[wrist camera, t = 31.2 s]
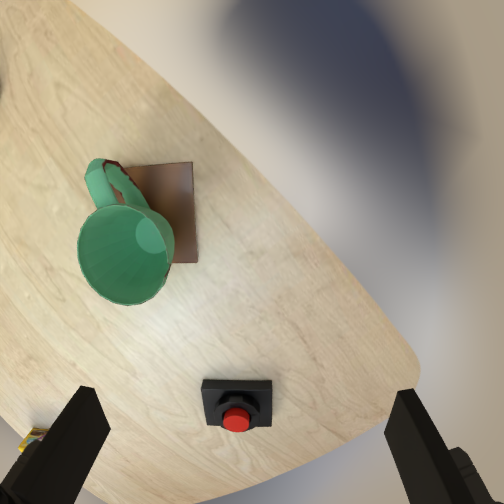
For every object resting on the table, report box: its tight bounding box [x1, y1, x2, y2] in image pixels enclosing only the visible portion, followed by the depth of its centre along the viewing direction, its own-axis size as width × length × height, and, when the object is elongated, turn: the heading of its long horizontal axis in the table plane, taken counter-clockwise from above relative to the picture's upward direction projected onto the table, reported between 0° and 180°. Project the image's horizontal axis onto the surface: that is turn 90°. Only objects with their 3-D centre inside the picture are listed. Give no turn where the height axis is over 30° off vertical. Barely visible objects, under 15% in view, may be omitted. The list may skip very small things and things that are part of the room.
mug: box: [77, 158, 175, 306], centre depth 31 cm, size 15×10×10 cm
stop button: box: [223, 408, 250, 432], centre depth 39 cm, size 4×4×2 cm
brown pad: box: [109, 162, 198, 263], centre depth 36 cm, size 12×12×1 cm
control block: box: [201, 380, 272, 432], centre depth 41 cm, size 10×8×4 cm
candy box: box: [18, 428, 48, 452], centre depth 46 cm, size 16×2×8 cm, turn 108°
